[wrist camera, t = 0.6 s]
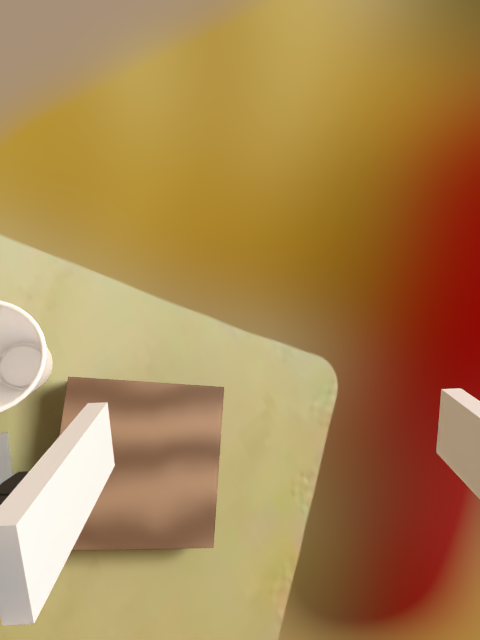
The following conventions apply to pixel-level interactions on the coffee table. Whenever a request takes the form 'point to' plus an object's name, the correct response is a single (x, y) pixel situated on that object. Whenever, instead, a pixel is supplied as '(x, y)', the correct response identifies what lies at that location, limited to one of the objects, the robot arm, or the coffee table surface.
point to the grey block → (5, 458)
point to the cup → (21, 356)
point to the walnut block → (153, 463)
